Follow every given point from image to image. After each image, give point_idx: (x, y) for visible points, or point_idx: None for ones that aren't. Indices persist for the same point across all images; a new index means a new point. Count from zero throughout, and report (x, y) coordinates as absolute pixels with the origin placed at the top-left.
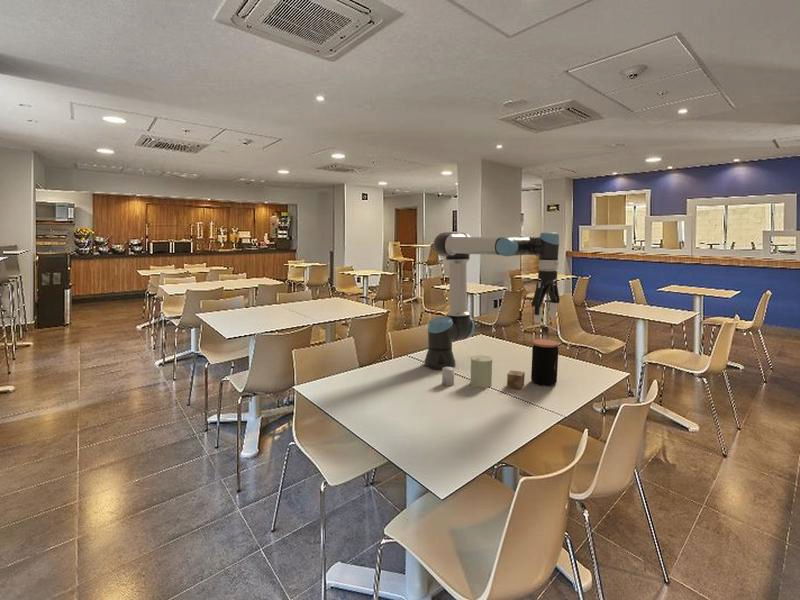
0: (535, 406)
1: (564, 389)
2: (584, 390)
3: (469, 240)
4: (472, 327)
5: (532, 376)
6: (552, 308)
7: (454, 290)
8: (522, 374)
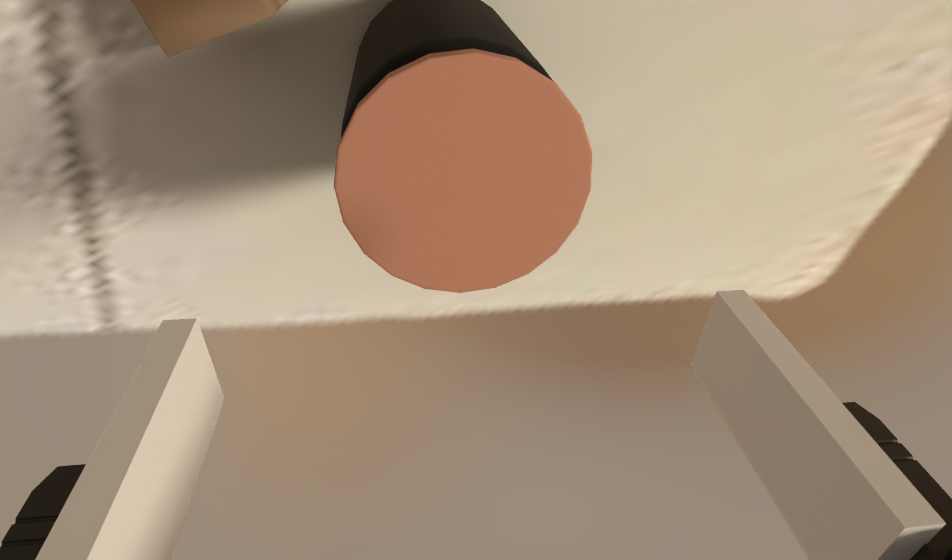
0: (71, 219)
1: None
2: None
3: None
4: None
5: (368, 30)
6: (791, 458)
7: None
8: (203, 37)
